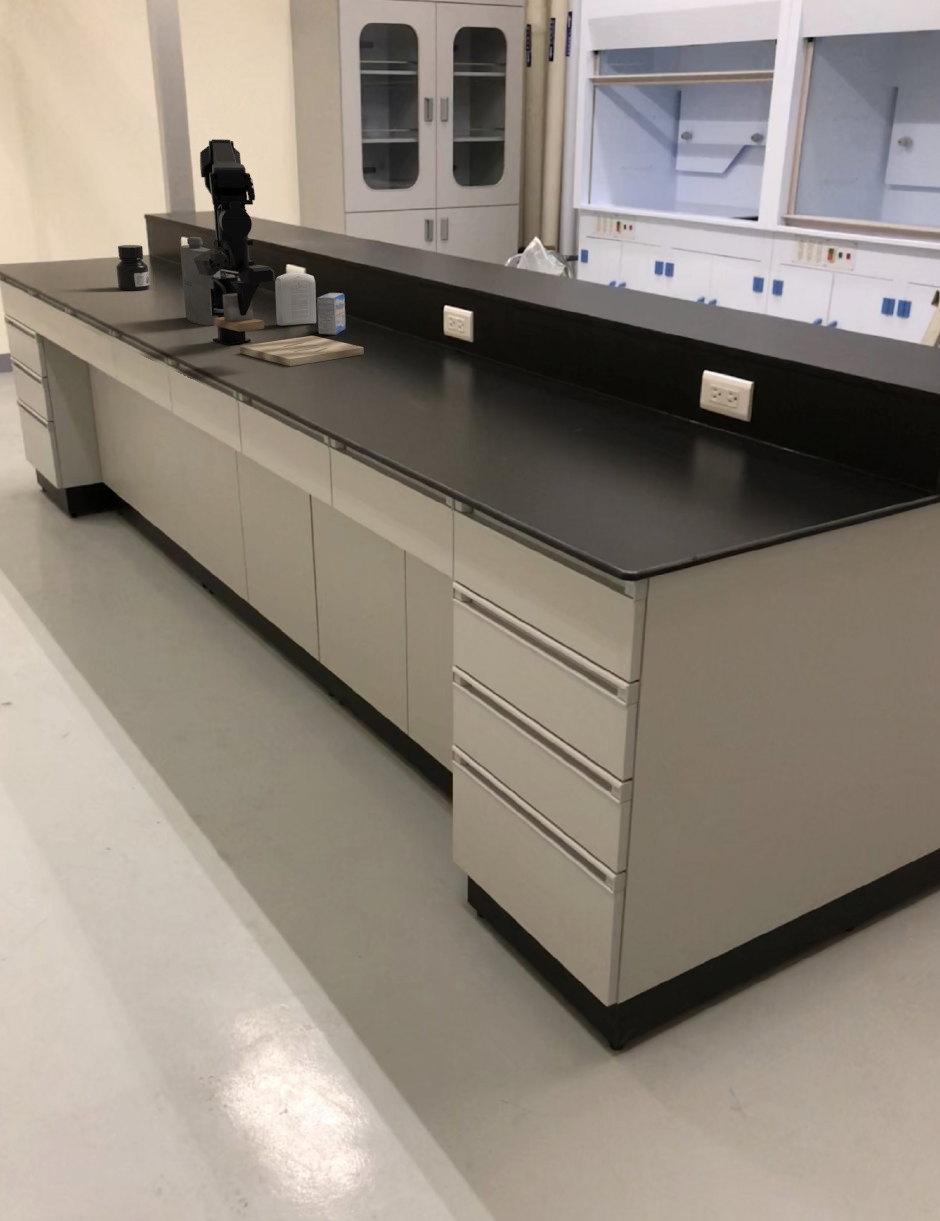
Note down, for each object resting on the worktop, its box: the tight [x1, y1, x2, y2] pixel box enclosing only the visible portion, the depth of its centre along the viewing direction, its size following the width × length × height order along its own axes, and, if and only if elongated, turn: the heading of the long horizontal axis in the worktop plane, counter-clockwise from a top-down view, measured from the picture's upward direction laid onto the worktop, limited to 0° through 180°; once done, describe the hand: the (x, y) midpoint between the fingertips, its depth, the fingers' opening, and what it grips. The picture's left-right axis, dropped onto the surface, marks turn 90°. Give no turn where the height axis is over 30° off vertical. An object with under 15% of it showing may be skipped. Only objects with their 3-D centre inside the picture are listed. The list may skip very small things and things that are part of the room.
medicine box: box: [316, 292, 346, 336], centre depth 267 cm, size 8×4×9 cm, turn 168°
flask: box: [179, 236, 221, 327], centre depth 275 cm, size 15×6×20 cm, turn 32°
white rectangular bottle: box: [274, 272, 317, 326], centre depth 275 cm, size 10×4×12 cm, turn 123°
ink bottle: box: [115, 244, 151, 291], centre depth 324 cm, size 10×9×12 cm
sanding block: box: [214, 293, 265, 332], centre depth 228 cm, size 9×6×6 cm, turn 45°
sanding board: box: [239, 335, 365, 367], centre depth 243 cm, size 18×20×2 cm
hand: (238, 314), depth 228 cm, fingers closed on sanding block, 3 cm apart
